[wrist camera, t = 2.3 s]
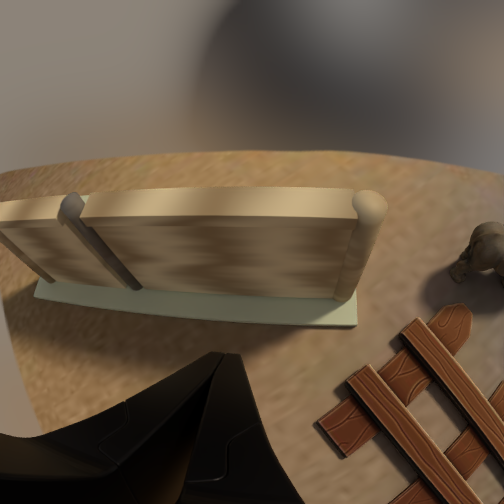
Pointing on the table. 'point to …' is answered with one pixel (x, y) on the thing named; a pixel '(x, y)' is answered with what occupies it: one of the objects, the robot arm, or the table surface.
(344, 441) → the decorative fence
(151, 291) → the card
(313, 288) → the hinged fence panel
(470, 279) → the table surface
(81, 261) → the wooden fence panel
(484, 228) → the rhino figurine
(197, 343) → the table surface
